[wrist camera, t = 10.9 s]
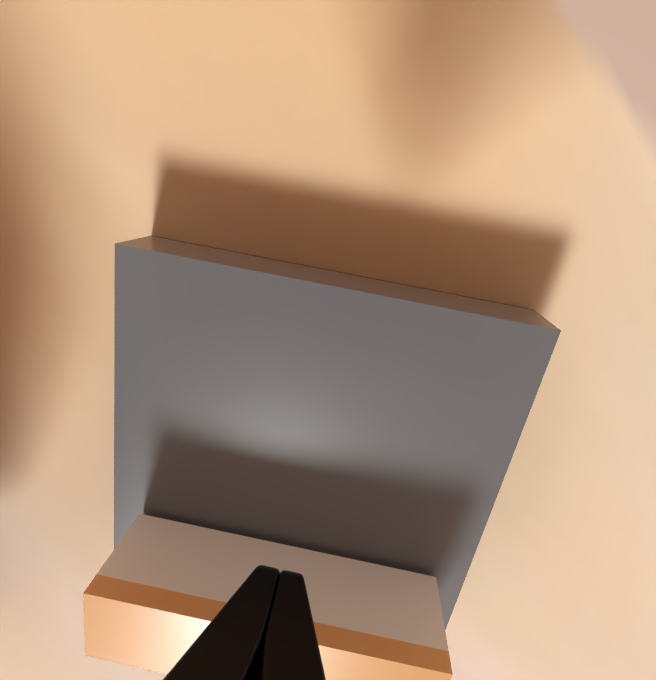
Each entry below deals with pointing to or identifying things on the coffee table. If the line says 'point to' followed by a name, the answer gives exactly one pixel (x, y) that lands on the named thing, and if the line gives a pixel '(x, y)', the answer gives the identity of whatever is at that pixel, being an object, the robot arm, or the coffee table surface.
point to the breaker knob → (229, 574)
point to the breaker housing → (316, 405)
